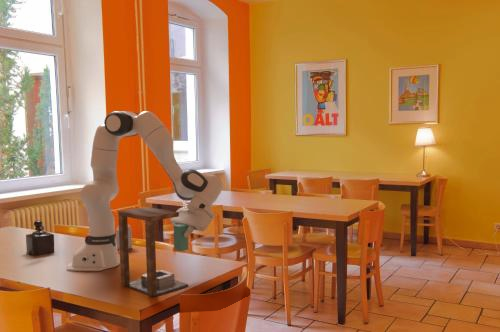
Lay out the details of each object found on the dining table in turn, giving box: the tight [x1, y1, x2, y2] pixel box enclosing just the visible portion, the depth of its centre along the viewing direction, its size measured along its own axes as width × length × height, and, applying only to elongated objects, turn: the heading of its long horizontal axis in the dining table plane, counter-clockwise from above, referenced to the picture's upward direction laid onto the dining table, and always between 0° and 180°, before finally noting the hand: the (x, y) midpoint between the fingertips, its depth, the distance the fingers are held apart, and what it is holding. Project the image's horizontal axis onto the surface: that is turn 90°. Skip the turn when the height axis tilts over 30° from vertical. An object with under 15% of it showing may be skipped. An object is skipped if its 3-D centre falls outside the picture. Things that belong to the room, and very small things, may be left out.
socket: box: [123, 269, 189, 298], centre depth 189 cm, size 16×20×4 cm
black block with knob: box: [25, 219, 55, 257], centre depth 242 cm, size 16×11×18 cm
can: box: [115, 224, 133, 251], centre depth 250 cm, size 8×8×12 cm
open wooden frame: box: [117, 206, 179, 297], centre depth 186 cm, size 13×21×29 cm, turn 46°
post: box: [173, 224, 189, 252], centre depth 197 cm, size 4×4×10 cm
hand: (179, 235), depth 197 cm, fingers closed on post, 4 cm apart
